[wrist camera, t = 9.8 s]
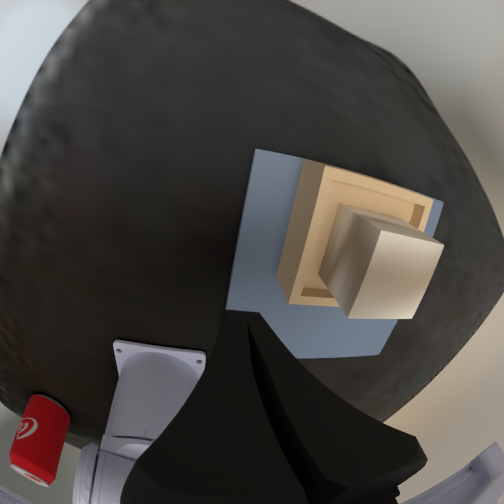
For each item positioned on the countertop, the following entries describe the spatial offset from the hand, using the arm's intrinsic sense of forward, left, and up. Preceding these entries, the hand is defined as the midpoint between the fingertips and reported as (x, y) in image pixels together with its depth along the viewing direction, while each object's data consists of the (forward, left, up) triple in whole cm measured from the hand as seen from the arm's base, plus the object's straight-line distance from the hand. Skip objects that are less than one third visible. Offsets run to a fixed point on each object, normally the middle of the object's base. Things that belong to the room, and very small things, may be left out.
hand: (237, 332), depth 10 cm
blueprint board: (-2, -9, -9) cm, 13 cm away
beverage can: (-26, +20, -10) cm, 34 cm away
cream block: (+2, -8, -6) cm, 10 cm away
